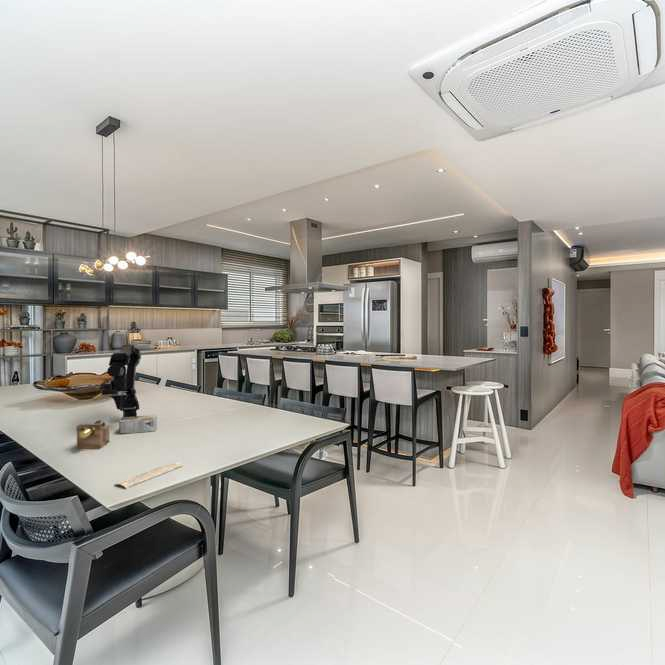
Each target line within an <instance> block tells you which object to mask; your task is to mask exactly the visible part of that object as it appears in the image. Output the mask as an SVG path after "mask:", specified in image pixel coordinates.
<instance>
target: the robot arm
mask: <svg viewBox="0 0 665 665" xmlns="http://www.w3.org/2000/svg"><path fill="white" fill-rule="evenodd" d="M141 359H142V353H141V351H140V349H139V348H137V347H136V346H135V345H134V344H125V345H123V348H122V349H120V350H119V351H115V352H113V353H112V355H111V356H110V359H109V363H108V366H109V367H108V368H107V375H108V376H109V377H112V379H111V380H110V382H109V383H107V384H106V383H105V382H102V383H100V384H99V390H100V393H101V396H109V397H110V398H112V399H113V400H114V401H113V402H114V403H115V406H116V409H117V410H119V411H120V412H122V415H123V416H122V417H135V416H138V413H137V411H138V410H140V404H139V403H140V402H139V400H138V397H137V395H136V393H137V390H136V389H135V386H136V385H135V383H136V374H137V373H136V371H137V366H139V364H140V361H141Z"/></svg>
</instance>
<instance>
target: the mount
mask: <svg viewBox="0 0 665 665" xmlns="http://www.w3.org/2000/svg"><path fill="white" fill-rule="evenodd" d="M93 427H95V432H94V433H93V434H91V435H89V436H88V437H86V438H84V439H81V438H80V437H79V433H80V432H82V431H84V430H85V429H87V428H93ZM108 442H109V443H110V425H105V426H103V427H102V424H94V423H87V424H85V423H84V424H77V425H76V449H77V451H84V450H83V449H91V450H101V449H102V448H104V447H105V446H107V445H108V444H109V443H108ZM107 443H108V444H107ZM104 445H105V446H104ZM103 446H104V447H103ZM100 448H101V449H100Z"/></svg>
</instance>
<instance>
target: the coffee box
mask: <svg viewBox="0 0 665 665" xmlns="http://www.w3.org/2000/svg"><path fill="white" fill-rule="evenodd" d="M157 418H158V416H157V414H150V415H137V416H135V417H123V416H121V419H120V420H119V422H118V423H119V424H118V427H119V428H118V433H119V435H125V434H126V433H127V434H135V433H137V434H138V432H139V433H147V432H149V431H151V432H156V431H157V427H158V423H157V422H158V421H157V420H158V419H157ZM149 433H150V432H149Z"/></svg>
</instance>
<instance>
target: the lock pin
mask: <svg viewBox="0 0 665 665" xmlns="http://www.w3.org/2000/svg"><path fill="white" fill-rule="evenodd" d="M93 424H102V427H103V426H106V423H105V421H103V420H101V419H99V420H96V421H95V422H94V423H93ZM94 432H95V427H93V428H87V429H85V430H84V431H82V432H80V433H79V437H80V438H81V439H84V438H86V437H88V436H89V435H91V434H93V433H94Z"/></svg>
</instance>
